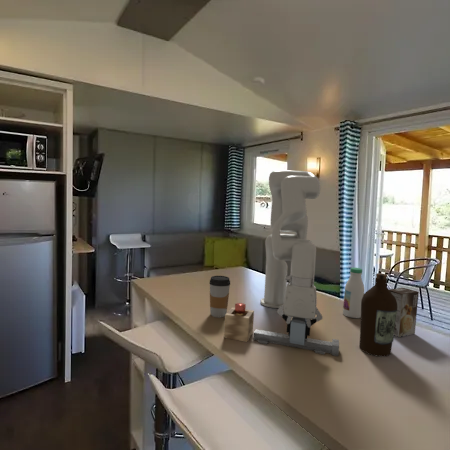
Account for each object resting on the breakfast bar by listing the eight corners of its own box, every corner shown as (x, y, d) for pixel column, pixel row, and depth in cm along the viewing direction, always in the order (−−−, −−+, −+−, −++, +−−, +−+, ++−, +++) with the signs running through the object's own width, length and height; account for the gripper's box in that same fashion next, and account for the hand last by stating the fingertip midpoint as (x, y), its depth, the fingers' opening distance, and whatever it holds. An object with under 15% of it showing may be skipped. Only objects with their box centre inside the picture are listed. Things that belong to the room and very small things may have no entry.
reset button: (240, 317, 119) (241, 302, 119) (246, 320, 116) (247, 305, 116) (232, 319, 117) (232, 303, 117) (238, 322, 114) (239, 307, 114)
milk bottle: (362, 314, 145) (366, 268, 143) (361, 320, 138) (366, 271, 136) (343, 311, 148) (347, 265, 146) (341, 316, 141) (345, 268, 139)
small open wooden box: (224, 337, 115) (225, 314, 114) (230, 329, 122) (232, 307, 122) (247, 341, 112) (248, 318, 112) (252, 332, 120) (254, 310, 119)
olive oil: (350, 343, 115) (356, 270, 113) (378, 342, 117) (384, 270, 115) (370, 358, 105) (378, 278, 102) (400, 356, 107) (408, 278, 105)
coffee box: (399, 327, 132) (403, 287, 130) (415, 334, 126) (419, 291, 124) (383, 331, 127) (387, 289, 126) (399, 338, 122) (403, 293, 120)
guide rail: (252, 341, 113) (252, 332, 113) (256, 334, 119) (256, 325, 118) (338, 357, 105) (339, 346, 104) (338, 348, 110) (338, 339, 110)
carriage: (289, 343, 109) (290, 320, 108) (292, 335, 115) (293, 313, 115) (303, 346, 107) (305, 322, 107) (305, 337, 114) (307, 315, 113)
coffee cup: (226, 319, 131) (228, 281, 130) (205, 317, 133) (207, 279, 132) (230, 312, 140) (232, 276, 138) (210, 310, 141) (212, 274, 140)
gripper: (273, 280, 108) (270, 336, 110) (329, 287, 103) (324, 345, 105) (277, 275, 116) (273, 327, 117) (329, 281, 111) (325, 336, 112)
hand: (298, 335), depth 111 cm, fingers closed on carriage, 4 cm apart
